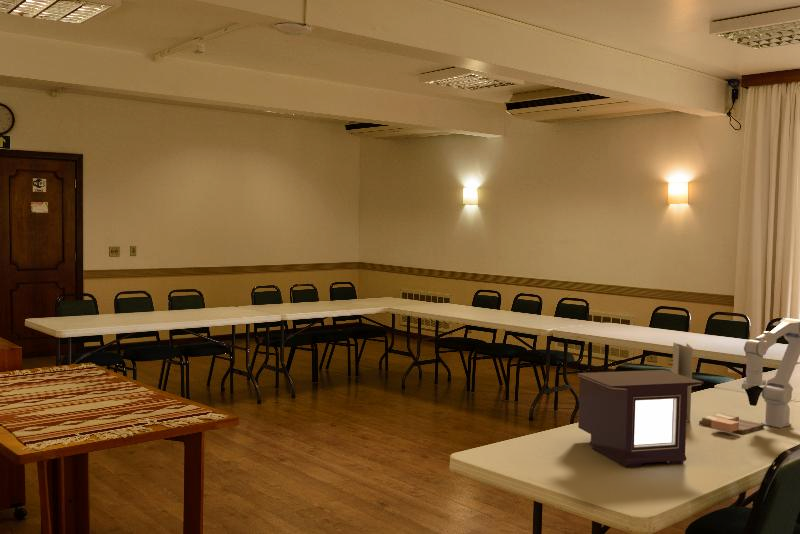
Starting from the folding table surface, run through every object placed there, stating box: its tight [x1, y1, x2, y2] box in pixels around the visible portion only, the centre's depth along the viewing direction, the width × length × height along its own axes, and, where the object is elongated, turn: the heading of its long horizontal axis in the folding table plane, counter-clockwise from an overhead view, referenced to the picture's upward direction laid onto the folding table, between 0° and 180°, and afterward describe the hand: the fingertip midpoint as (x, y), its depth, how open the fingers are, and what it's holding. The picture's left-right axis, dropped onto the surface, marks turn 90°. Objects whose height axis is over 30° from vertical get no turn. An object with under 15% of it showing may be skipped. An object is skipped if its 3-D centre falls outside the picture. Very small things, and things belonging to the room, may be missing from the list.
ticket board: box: [698, 412, 765, 435], centre depth 311 cm, size 16×18×3 cm
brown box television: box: [576, 369, 705, 469], centre depth 273 cm, size 35×35×27 cm
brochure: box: [671, 342, 694, 423], centre depth 323 cm, size 14×6×30 cm, turn 168°
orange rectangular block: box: [710, 418, 739, 433], centre depth 300 cm, size 6×8×3 cm
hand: (753, 405), depth 307 cm, fingers closed
